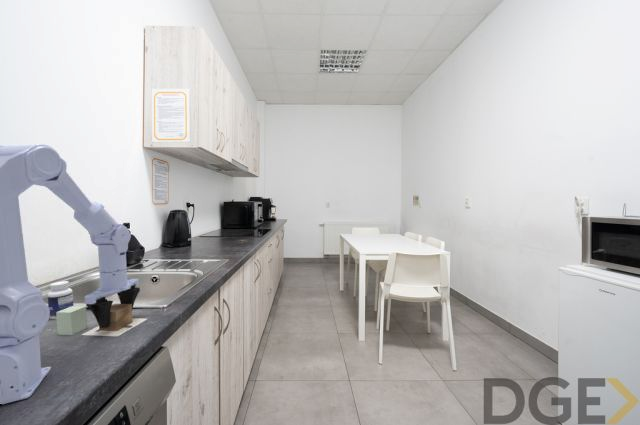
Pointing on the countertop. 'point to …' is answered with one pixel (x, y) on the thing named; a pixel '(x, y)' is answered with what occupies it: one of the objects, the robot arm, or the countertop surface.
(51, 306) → the pill bottle
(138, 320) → the letter card
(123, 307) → the walnut block
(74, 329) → the sage pillar
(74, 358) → the countertop surface
